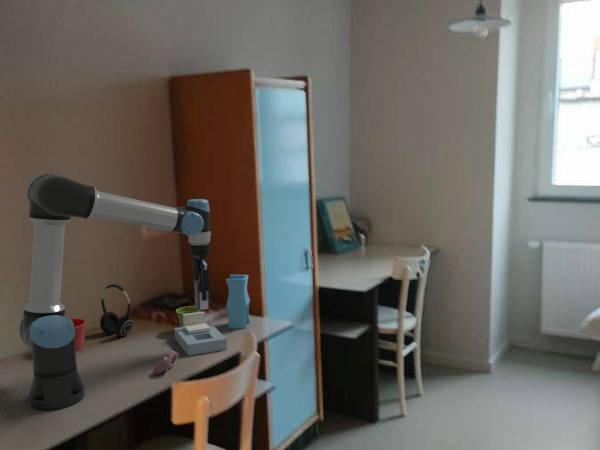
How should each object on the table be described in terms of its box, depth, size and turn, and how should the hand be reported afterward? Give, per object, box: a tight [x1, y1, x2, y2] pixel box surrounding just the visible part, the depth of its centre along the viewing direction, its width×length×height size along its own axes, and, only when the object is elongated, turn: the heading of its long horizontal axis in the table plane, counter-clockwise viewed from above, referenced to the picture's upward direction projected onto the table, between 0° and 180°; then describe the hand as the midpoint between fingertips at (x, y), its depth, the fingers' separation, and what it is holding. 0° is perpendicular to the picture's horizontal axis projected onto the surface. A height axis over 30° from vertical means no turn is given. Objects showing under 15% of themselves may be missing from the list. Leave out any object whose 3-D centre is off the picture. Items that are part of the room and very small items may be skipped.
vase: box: [225, 274, 251, 330], centre depth 233 cm, size 8×8×20 cm
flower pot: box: [70, 317, 87, 352], centre depth 209 cm, size 11×11×10 cm
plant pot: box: [175, 305, 201, 328], centre depth 227 cm, size 9×9×9 cm
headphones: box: [99, 283, 134, 338], centre depth 222 cm, size 9×15×20 cm, turn 62°
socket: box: [174, 322, 228, 357], centre depth 213 cm, size 14×20×4 cm
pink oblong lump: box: [152, 350, 180, 375], centre depth 190 cm, size 10×5×7 cm, turn 170°
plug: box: [193, 279, 210, 311], centre depth 207 cm, size 4×4×11 cm
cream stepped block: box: [183, 311, 210, 334], centre depth 216 cm, size 8×8×5 cm
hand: (202, 307), depth 208 cm, fingers closed on plug, 4 cm apart
